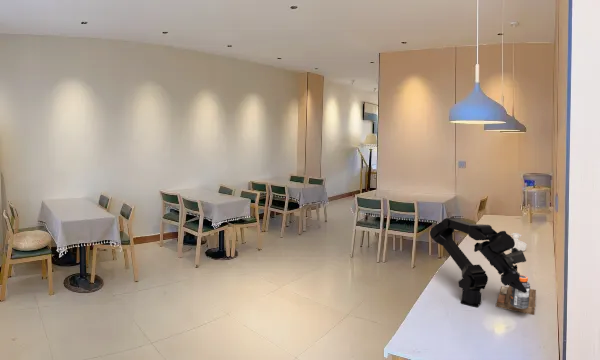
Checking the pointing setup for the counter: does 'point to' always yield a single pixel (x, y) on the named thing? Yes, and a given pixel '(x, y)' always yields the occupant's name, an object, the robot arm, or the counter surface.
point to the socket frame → (505, 300)
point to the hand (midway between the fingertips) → (525, 289)
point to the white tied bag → (518, 242)
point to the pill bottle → (521, 294)
